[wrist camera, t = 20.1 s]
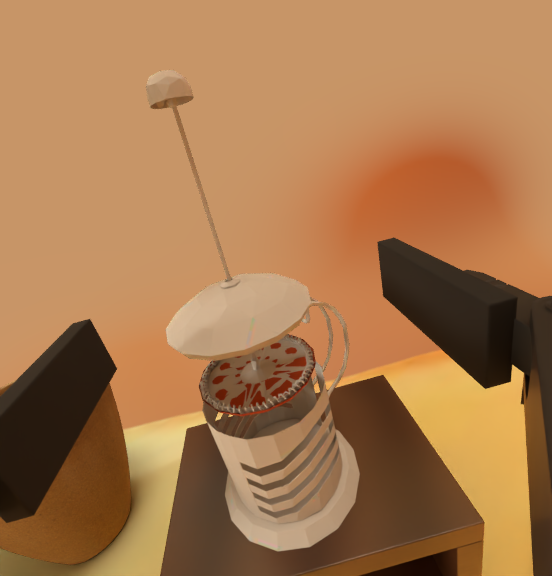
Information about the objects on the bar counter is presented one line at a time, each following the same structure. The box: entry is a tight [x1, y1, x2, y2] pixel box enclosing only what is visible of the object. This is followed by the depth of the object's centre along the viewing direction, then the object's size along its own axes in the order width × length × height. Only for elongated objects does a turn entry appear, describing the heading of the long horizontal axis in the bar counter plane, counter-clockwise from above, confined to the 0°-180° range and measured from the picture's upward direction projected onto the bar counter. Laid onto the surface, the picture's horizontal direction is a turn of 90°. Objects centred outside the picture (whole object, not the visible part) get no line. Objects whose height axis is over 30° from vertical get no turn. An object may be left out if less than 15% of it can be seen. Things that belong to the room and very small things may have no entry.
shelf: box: [160, 375, 484, 576], centre depth 25 cm, size 19×13×10 cm
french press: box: [146, 70, 360, 551], centre depth 18 cm, size 10×12×25 cm
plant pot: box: [0, 380, 131, 565], centre depth 30 cm, size 15×15×16 cm
